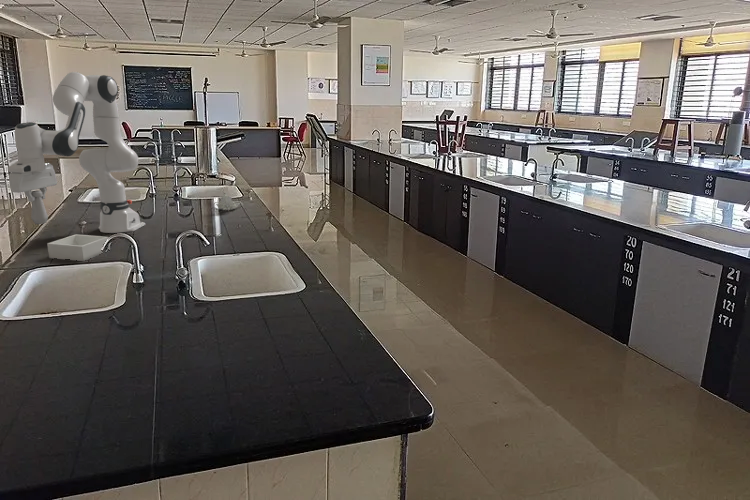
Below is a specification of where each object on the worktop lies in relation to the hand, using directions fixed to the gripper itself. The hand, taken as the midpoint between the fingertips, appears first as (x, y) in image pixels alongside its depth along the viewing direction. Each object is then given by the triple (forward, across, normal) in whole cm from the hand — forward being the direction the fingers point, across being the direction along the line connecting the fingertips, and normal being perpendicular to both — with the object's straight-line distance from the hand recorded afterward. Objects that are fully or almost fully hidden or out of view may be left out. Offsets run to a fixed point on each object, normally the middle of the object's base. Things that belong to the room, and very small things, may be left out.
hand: (37, 200), depth 229 cm
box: (+23, -5, +12) cm, 26 cm away
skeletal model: (+24, -106, +27) cm, 112 cm away
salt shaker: (+10, 0, 0) cm, 10 cm away
